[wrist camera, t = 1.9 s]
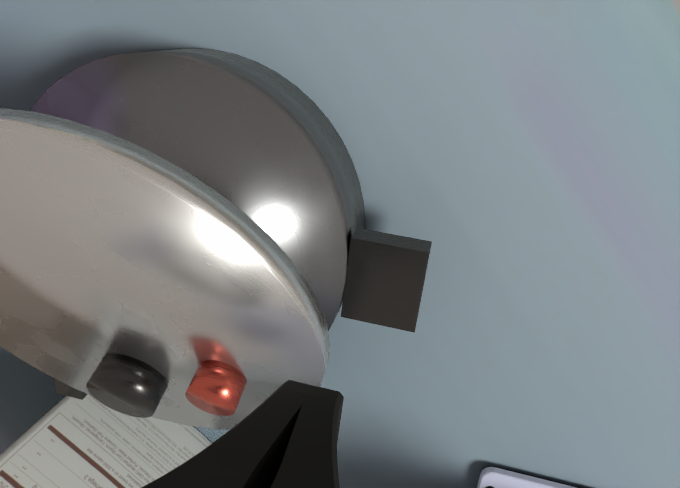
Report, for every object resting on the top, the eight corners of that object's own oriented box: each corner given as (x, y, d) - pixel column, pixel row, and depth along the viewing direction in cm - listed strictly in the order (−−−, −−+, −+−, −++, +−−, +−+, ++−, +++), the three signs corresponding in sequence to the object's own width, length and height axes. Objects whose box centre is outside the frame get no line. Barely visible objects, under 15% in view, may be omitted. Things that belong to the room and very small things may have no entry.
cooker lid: (331, 442, 21) (318, 489, 20) (20, 363, 23) (-8, 401, 22) (326, 160, 11) (300, 220, 10) (-214, 70, 13) (-288, 111, 12)
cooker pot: (401, 406, 24) (386, 479, 20) (35, 319, 27) (-39, 368, 23) (462, 83, 19) (458, 98, 15) (-1, 20, 22) (-104, 19, 18)
